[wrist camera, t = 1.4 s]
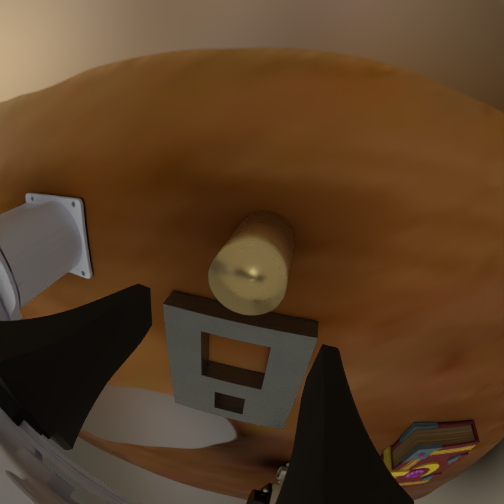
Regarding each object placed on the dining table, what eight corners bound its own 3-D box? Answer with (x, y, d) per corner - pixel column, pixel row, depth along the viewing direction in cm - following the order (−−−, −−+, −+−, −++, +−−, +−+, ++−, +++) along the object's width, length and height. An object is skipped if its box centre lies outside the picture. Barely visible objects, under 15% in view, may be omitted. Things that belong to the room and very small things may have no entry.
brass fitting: (234, 259, 21) (207, 306, 15) (239, 206, 19) (209, 239, 14) (289, 269, 20) (279, 321, 15) (299, 216, 18) (292, 254, 13)
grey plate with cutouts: (181, 389, 29) (175, 402, 27) (173, 290, 23) (163, 303, 21) (285, 415, 28) (282, 429, 26) (318, 321, 21) (317, 337, 20)
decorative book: (474, 416, 24) (482, 444, 19) (417, 467, 31) (419, 490, 26) (413, 420, 25) (418, 453, 21) (361, 469, 32) (360, 494, 28)
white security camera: (324, 475, 34) (316, 536, 23) (256, 463, 35) (239, 526, 24) (340, 464, 32) (334, 532, 21) (266, 452, 33) (248, 523, 22)
